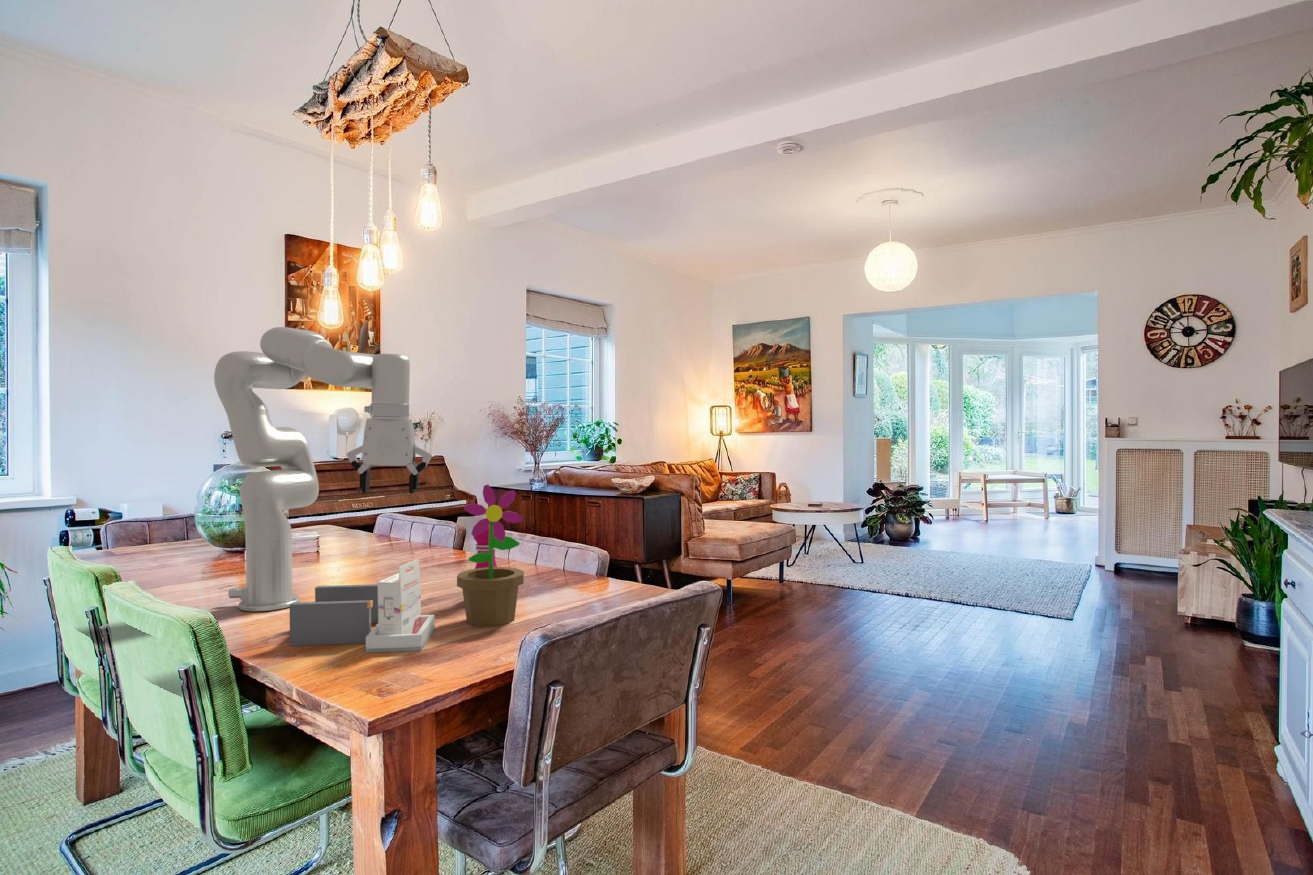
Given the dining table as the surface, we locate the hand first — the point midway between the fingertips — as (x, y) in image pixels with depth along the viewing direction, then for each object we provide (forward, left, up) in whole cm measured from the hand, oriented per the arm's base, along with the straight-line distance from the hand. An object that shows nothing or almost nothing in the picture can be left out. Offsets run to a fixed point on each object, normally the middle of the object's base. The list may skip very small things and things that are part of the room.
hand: (389, 492), depth 150 cm
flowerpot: (+21, -1, -28) cm, 35 cm away
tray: (+5, -13, -28) cm, 31 cm away
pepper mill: (+18, +18, -28) cm, 38 cm away
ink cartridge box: (+5, -13, -28) cm, 31 cm away
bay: (-8, -6, -28) cm, 30 cm away
